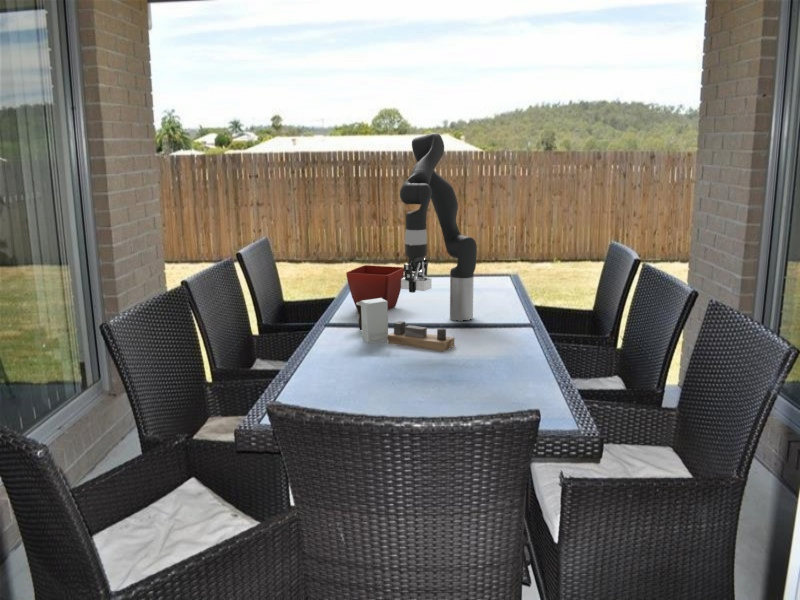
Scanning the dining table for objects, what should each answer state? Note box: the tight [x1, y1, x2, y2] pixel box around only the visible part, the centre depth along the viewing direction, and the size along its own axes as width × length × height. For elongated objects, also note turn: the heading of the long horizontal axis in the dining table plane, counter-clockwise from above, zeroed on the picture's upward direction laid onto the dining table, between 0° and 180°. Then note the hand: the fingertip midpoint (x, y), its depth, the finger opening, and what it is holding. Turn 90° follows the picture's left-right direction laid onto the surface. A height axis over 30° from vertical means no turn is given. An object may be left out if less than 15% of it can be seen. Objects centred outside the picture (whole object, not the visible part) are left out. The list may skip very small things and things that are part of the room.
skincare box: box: [361, 298, 389, 344], centre depth 266 cm, size 8×6×15 cm
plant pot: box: [345, 264, 405, 311], centre depth 314 cm, size 19×19×17 cm
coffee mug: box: [355, 302, 362, 331], centre depth 284 cm, size 12×9×10 cm
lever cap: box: [401, 276, 432, 292], centre depth 258 cm, size 6×9×4 cm, turn 61°
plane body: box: [387, 320, 455, 352], centre depth 261 cm, size 8×22×7 cm, turn 61°
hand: (416, 290), depth 259 cm, fingers closed on lever cap, 5 cm apart
